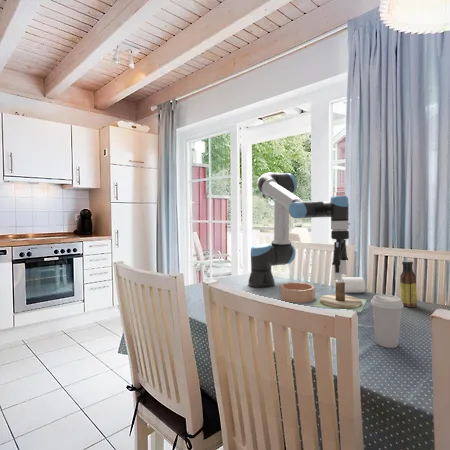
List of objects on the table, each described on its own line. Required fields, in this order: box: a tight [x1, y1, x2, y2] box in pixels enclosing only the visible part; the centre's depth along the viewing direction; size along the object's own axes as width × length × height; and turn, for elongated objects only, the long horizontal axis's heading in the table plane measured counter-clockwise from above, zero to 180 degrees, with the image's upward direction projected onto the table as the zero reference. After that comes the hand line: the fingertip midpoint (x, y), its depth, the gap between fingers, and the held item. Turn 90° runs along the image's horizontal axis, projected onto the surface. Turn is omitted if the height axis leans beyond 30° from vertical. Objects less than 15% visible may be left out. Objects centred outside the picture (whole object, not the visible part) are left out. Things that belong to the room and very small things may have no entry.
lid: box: [319, 281, 362, 310], centre depth 145 cm, size 18×18×9 cm
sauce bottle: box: [399, 260, 418, 308], centre depth 140 cm, size 6×6×20 cm
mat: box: [312, 294, 367, 313], centre depth 145 cm, size 20×20×1 cm
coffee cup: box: [370, 294, 405, 349], centre depth 102 cm, size 10×10×15 cm
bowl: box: [279, 281, 316, 303], centre depth 155 cm, size 16×16×6 cm
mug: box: [339, 276, 366, 294], centre depth 165 cm, size 12×10×8 cm
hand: (340, 276), depth 144 cm, fingers open, 13 cm apart
